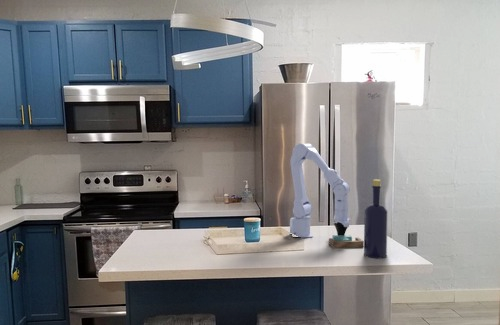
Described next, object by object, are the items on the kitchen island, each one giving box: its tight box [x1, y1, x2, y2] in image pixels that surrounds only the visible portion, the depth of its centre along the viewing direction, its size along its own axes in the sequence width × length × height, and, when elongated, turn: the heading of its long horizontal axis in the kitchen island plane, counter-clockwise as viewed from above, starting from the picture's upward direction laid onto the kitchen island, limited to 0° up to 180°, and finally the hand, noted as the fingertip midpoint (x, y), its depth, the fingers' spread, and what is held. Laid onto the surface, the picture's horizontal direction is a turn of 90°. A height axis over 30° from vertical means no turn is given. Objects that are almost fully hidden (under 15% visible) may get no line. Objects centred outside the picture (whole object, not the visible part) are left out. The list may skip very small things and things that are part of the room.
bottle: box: [363, 179, 389, 259], centre depth 146 cm, size 9×9×30 cm
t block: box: [332, 234, 353, 241], centre depth 162 cm, size 8×8×3 cm
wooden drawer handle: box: [328, 237, 364, 249], centre depth 160 cm, size 13×6×2 cm, turn 95°
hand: (340, 239), depth 167 cm, fingers closed
